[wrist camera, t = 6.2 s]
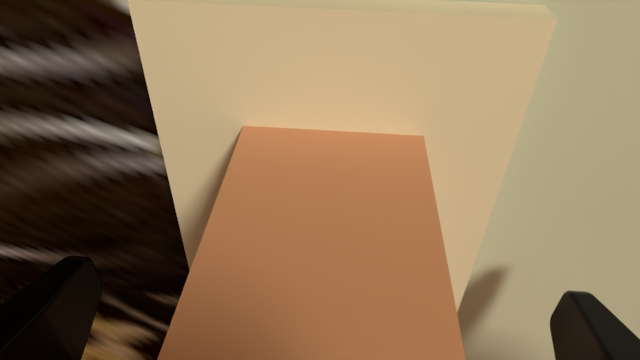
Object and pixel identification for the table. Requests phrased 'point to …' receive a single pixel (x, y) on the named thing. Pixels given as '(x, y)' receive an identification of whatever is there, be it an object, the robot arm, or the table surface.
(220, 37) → the stub
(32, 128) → the table surface
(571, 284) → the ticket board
